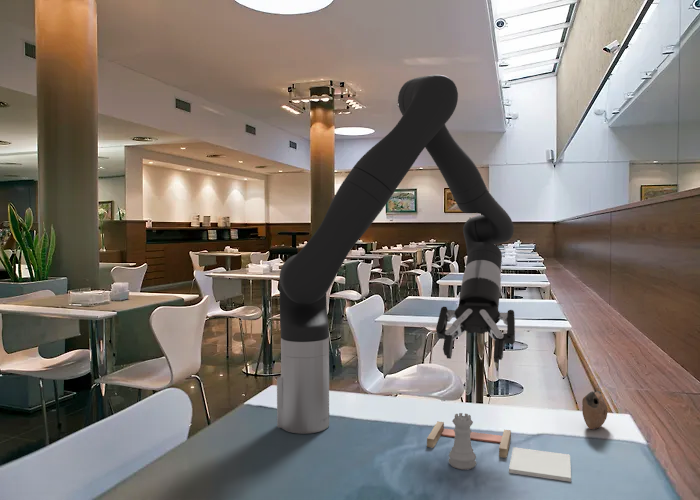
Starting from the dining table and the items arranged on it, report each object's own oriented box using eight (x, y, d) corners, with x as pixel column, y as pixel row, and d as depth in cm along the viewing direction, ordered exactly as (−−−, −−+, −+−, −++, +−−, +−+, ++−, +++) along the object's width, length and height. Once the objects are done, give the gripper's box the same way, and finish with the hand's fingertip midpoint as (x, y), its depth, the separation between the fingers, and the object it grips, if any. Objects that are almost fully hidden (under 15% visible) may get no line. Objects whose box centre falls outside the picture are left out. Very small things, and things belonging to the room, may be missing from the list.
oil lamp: (601, 439, 99) (602, 395, 98) (577, 435, 101) (578, 392, 100) (608, 424, 106) (609, 383, 106) (586, 420, 108) (587, 380, 108)
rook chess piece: (477, 471, 86) (478, 421, 85) (448, 469, 86) (449, 419, 86) (475, 459, 90) (475, 411, 90) (447, 458, 91) (448, 410, 91)
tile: (508, 472, 85) (508, 468, 85) (513, 450, 94) (513, 447, 94) (571, 481, 82) (571, 477, 82) (569, 458, 91) (569, 454, 91)
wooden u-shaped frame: (426, 446, 96) (426, 438, 95) (437, 429, 104) (437, 421, 104) (506, 458, 91) (506, 449, 91) (510, 438, 99) (511, 430, 99)
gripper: (442, 275, 109) (429, 343, 99) (517, 277, 104) (511, 349, 94) (447, 298, 114) (435, 366, 104) (518, 301, 109) (514, 372, 99)
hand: (471, 358), depth 99 cm, fingers open, 8 cm apart
